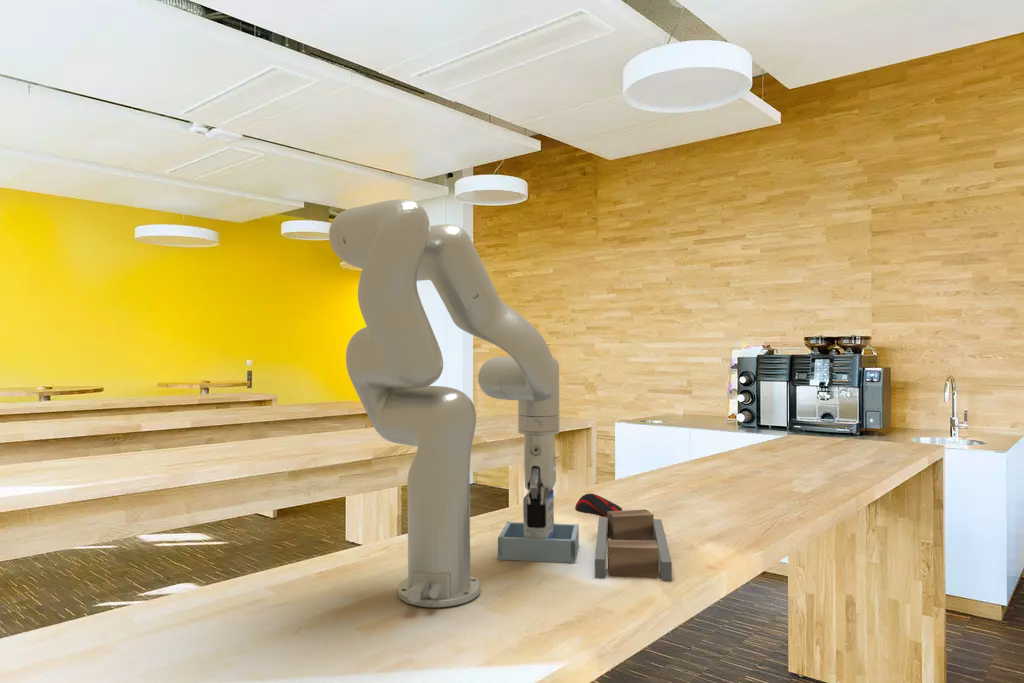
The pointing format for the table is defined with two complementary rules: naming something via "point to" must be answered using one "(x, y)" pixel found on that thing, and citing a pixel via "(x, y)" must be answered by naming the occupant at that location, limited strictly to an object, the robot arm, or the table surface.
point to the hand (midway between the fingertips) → (539, 519)
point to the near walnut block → (633, 558)
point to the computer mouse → (595, 505)
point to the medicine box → (549, 528)
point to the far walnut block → (630, 525)
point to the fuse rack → (659, 537)
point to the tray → (539, 544)
